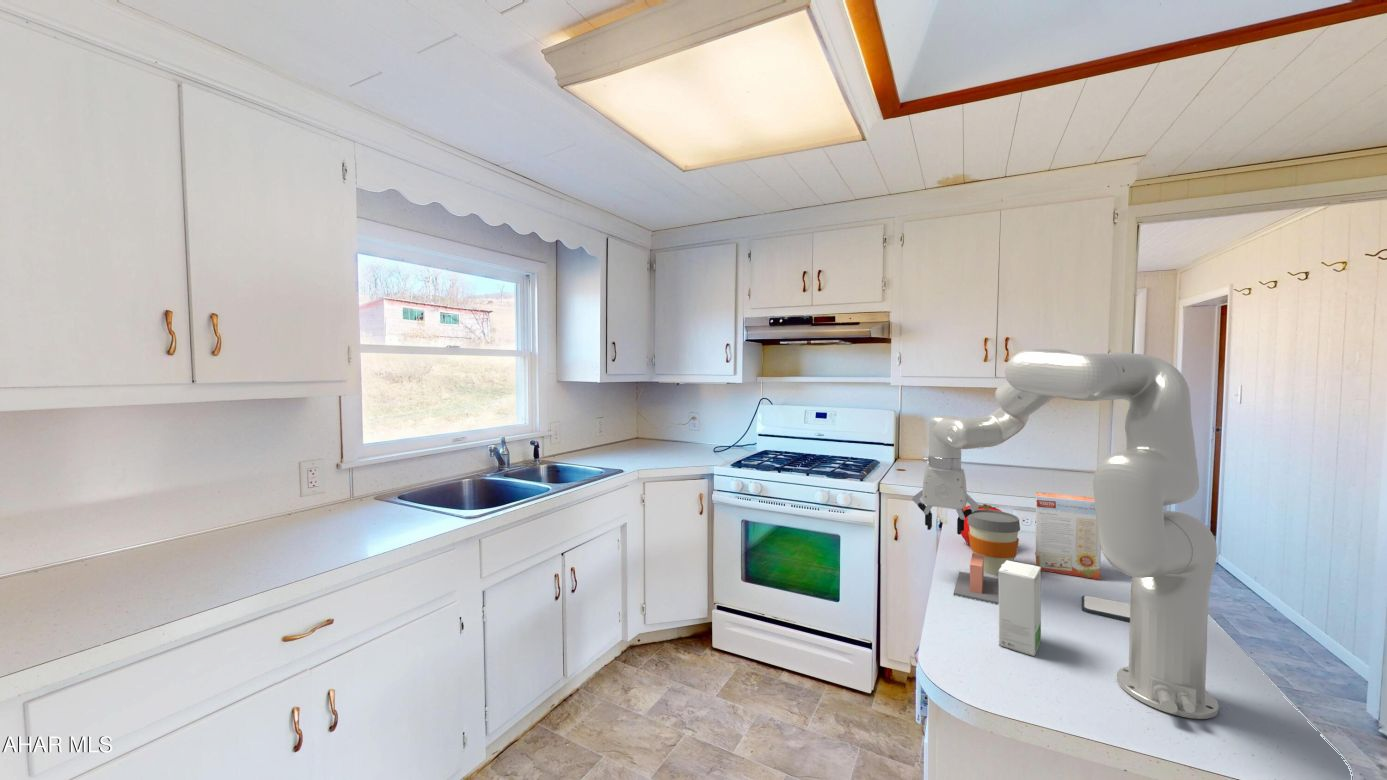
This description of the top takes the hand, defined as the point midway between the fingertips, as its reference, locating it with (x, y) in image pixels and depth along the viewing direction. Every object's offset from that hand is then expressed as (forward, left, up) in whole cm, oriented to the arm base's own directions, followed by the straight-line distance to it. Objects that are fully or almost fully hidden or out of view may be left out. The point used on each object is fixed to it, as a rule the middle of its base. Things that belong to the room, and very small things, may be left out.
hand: (944, 530), depth 130 cm
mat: (0, -11, -14) cm, 17 cm away
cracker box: (+24, -28, -14) cm, 39 cm away
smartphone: (+2, -37, -14) cm, 40 cm away
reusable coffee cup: (+16, -11, -14) cm, 24 cm away
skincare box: (-24, -17, -14) cm, 32 cm away
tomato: (+34, -7, -14) cm, 37 cm away
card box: (0, -8, -13) cm, 15 cm away
